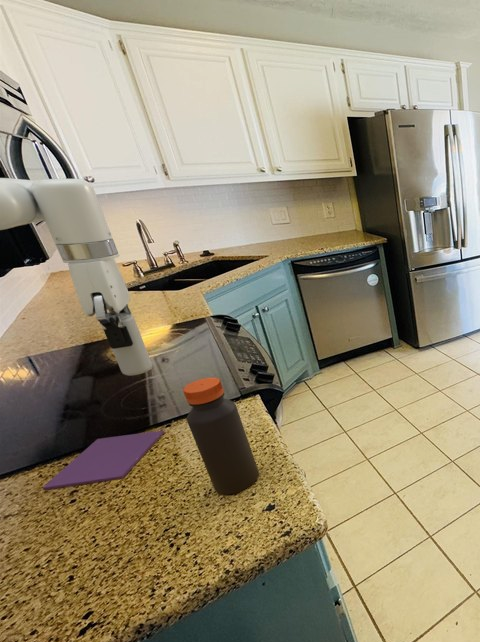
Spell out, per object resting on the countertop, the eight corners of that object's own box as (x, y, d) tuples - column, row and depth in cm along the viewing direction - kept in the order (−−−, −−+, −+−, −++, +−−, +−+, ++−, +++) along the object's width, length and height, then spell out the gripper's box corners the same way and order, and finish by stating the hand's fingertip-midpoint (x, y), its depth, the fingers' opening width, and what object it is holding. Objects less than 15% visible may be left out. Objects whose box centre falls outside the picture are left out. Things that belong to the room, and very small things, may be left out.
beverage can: (116, 375, 82) (92, 319, 78) (141, 364, 87) (120, 311, 82) (134, 377, 81) (111, 321, 77) (159, 367, 86) (138, 313, 81)
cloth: (43, 490, 72) (42, 487, 71) (98, 441, 84) (97, 438, 84) (122, 478, 74) (121, 476, 74) (164, 432, 86) (163, 430, 86)
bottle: (214, 502, 68) (173, 400, 60) (215, 478, 74) (176, 382, 66) (260, 485, 72) (227, 387, 64) (258, 463, 77) (226, 370, 69)
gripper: (76, 245, 79) (113, 331, 86) (41, 262, 66) (87, 362, 73) (126, 241, 83) (157, 325, 90) (103, 257, 69) (141, 353, 76)
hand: (126, 340), depth 81 cm, fingers closed on beverage can, 4 cm apart
